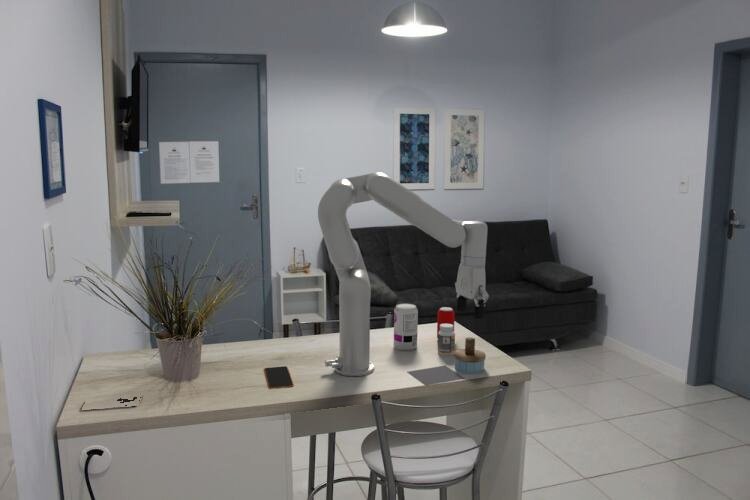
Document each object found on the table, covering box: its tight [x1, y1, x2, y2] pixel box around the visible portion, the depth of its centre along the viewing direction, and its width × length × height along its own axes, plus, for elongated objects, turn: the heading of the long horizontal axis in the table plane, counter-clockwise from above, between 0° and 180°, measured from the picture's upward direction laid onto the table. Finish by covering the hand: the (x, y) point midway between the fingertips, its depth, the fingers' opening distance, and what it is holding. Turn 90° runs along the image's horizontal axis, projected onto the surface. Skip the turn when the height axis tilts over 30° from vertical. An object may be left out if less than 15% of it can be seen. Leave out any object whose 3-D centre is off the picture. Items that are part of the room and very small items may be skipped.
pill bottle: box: [437, 324, 456, 356], centre depth 214 cm, size 6×6×10 cm
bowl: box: [454, 358, 485, 374], centre depth 200 cm, size 9×9×4 cm
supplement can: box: [393, 303, 419, 351], centre depth 219 cm, size 8×8×15 cm
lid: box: [453, 336, 486, 362], centre depth 199 cm, size 10×10×6 cm
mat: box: [406, 365, 466, 387], centre depth 194 cm, size 14×12×1 cm
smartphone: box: [263, 365, 295, 389], centre depth 191 cm, size 8×17×1 cm, turn 15°
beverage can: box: [436, 306, 456, 339], centre depth 228 cm, size 6×6×12 cm
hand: (469, 314), depth 197 cm, fingers open, 9 cm apart
